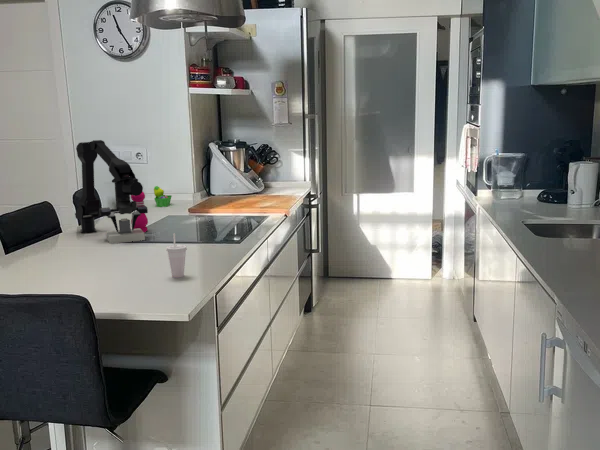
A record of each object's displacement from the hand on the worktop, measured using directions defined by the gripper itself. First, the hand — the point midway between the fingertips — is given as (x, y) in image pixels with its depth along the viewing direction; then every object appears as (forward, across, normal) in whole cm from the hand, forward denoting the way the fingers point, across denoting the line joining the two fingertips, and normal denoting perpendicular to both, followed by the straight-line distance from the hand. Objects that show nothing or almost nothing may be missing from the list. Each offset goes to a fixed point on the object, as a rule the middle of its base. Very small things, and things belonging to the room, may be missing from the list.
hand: (125, 231), depth 249 cm
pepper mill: (+4, +8, +14) cm, 17 cm away
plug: (+4, 0, 0) cm, 4 cm away
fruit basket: (+4, +31, +86) cm, 91 cm away
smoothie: (+4, +8, -67) cm, 68 cm away
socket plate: (+4, 0, 0) cm, 4 cm away
